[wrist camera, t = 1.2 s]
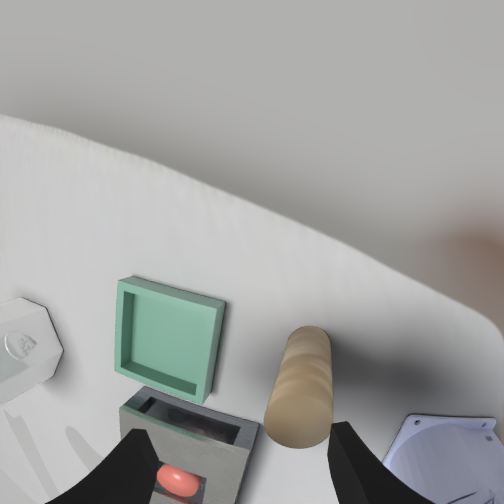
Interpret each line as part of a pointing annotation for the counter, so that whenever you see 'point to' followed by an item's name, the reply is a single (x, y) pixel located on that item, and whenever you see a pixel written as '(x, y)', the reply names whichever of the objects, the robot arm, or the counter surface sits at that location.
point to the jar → (25, 347)
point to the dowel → (302, 391)
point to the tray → (167, 337)
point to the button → (178, 480)
